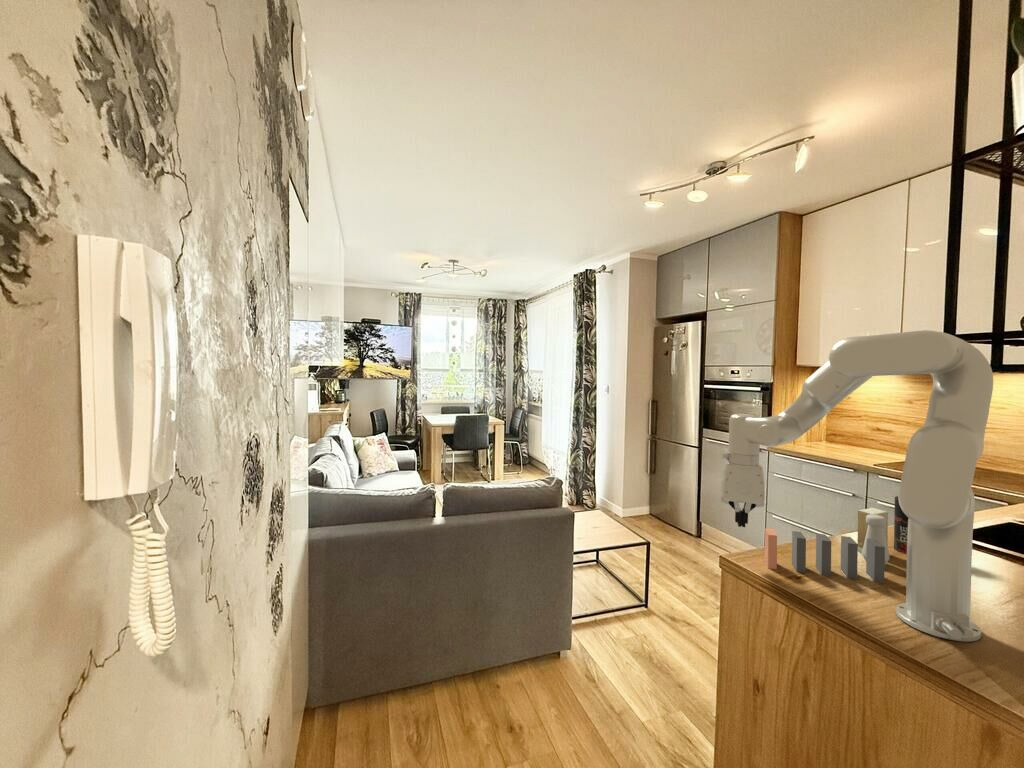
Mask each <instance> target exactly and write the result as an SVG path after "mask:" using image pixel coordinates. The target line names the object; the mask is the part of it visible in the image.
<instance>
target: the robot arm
mask: <svg viewBox="0 0 1024 768" xmlns="http://www.w3.org/2000/svg"><path fill="white" fill-rule="evenodd" d="M903 375H904V376H905V375H930V376H931V378H932V380H933V381H932V382H933V383H932V389H931V393H930V396H929V400H928V409H927V413H926V417H925V420H924V423H923V426H921V427H920V428H918V429H917V430H916V431H915V432H914V433H913V434H912V436H911V438H910V440H909V441H908V446H907V450H906V453H905V454H906V455H905V459H904V464H903V469H902V475H901V480H900V484H899V489H898V495H897V496H898V500H899V504H900V507H901V509H902V511H903V512H904V514H905V515H906V516H907V517H908V533H907V554H906V577H905V578H906V580H905V581H906V583H905V586H906V588H905V589H906V591H905V602H902V603H899V604H897V605H896V608H895V613H896V615H897V617H898V618H899V619H900V620H901V621H902V622H904V623H905V624H906V625H909V626H911V628H914V629H916V630H918V631H921V632H924V633H925V634H929V635H931V636H934V637H938V638H942V639H945V640H949V641H956V642H966V643H967V642H975V641H976V642H977V641H978V640H980V639H981V637H982V629H981V628H980V627H979V625H978V624H977V623H975V622H974V621H973V620H971V600H972V599H971V598H972V597H971V596H972V560H973V558H972V557H973V535H974V534H973V533H974V522H975V521H974V519H975V509H976V500H975V499H976V498H975V493H974V491H973V489H972V485H973V481H974V476H975V472H976V467H977V463H978V460H979V459H980V458H981V456H982V455H983V451H984V442H985V435H986V430H987V429H986V428H987V424H988V421H989V419H988V418H989V415H990V407H991V401H992V397H993V391H994V375H993V369H992V367H991V365H990V362H989V361H988V359H987V358H986V356H985V355H984V354H983V353H982V351H980V350H979V349H978V348H977V347H975V346H974V345H972V344H971V343H970V342H968V341H966V340H965V339H962V338H960V337H957V336H955V335H952V334H950V333H947V332H942V331H936V330H924V329H923V330H914V331H913V330H911V331H904V332H902V331H901V332H893V333H882V334H875V335H860V336H859V335H858V336H851V337H846V338H843V339H841V340H839V341H838V342H836V343H835V345H833V346H832V348H831V349H830V352H829V354H828V360H826V362H825V363H824V364H822V365H821V366H820V367H819V368H818V369H816V370H815V371H814V372H813V373H812V374H811V375H810V376H809V377H807V378H806V379H805V380H804V381H803V383H802V388H801V392H800V394H799V396H798V397H797V398H796V399H795V400H794V401H793V402H792V403H791V404H790V405H789V406H788V407H786V408H785V409H783V411H782V412H780V413H779V414H778V415H772V416H766V417H759V416H758V415H757V414H753V413H752V414H749V413H734V414H732V415H731V416H730V417H729V422H728V423H729V424H728V425H729V426H728V448H727V449H728V451H727V452H726V453H722V457H721V458H722V459H723V460H724V459H725V460H727V461H725V464H724V466H723V467H724V468H723V472H722V477H721V478H722V480H721V496H720V498H719V499H720V502H721V503H723V504H727V505H729V506H730V507H731V508H732V509H734V516H735V517H734V522H735V523H737V526H738V528H739V527H740V528H741V527H742V528H746V525H747V524H749V513H750V512H751V511H752V510H754V509H755V508H761V507H762V508H763V507H765V491H766V490H765V474H764V468H763V466H762V465H761V464H760V449H761V448H760V445H762V446H765V447H771V448H773V447H774V448H775V447H779V446H783V445H785V444H788V443H792V442H794V441H797V440H798V439H799V438H800V437H801V436H804V434H806V433H807V432H808V431H809V430H811V429H812V428H813V427H814V426H815V425H817V424H818V423H819V422H820V421H821V420H823V419H824V417H826V416H827V415H828V414H829V413H830V412H831V411H833V410H834V408H835V407H836V406H837V405H839V404H840V403H841V402H842V401H843V400H844V399H846V398H847V397H848V396H849V395H852V393H854V392H855V391H856V390H857V389H859V388H860V387H861V386H863V384H865V383H866V382H867V381H869V380H870V379H871V378H872V377H876V376H877V377H879V376H881V377H882V376H903ZM740 503H743V507H742V508H740V507H741V506H740Z"/></svg>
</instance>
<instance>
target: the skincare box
mask: <svg viewBox="0 0 1024 768" xmlns="http://www.w3.org/2000/svg"><path fill="white" fill-rule="evenodd" d="M870 514H873V515H879V516H882V517H884V518H885V519H886V526H883V527H884V532H885V537H886V541H887V546H889V545H888V544H889V543H888V542H889V531H888V530H889V528H888V527H889V520H888V519H889V512H888V511H886V510H883V509H878V508H875V507H867V508H862V509H857V544H858V552H859V553H861V554H862V550H863V546H864V542H865V537H866V533H867V529H868V524H867V523H866V516H867V515H870Z"/></svg>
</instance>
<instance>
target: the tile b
mask: <svg viewBox="0 0 1024 768" xmlns="http://www.w3.org/2000/svg"><path fill="white" fill-rule="evenodd" d="M815 535H816V536H815V568H816V569H817V571H818V572H819V574H820V575H821V576H825V577H831V576H832V540H830V538H829V537H828V535H827V534H825V533H816V534H815Z"/></svg>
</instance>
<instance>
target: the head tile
mask: <svg viewBox="0 0 1024 768" xmlns="http://www.w3.org/2000/svg"><path fill="white" fill-rule="evenodd" d="M777 561H778V535H777V533H776V531H775V529H773V528H764V562H765V564H766V566H767V569H770V570H777V569H778V566H777V565H778V562H777Z"/></svg>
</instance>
